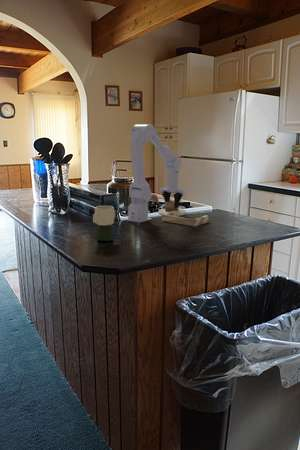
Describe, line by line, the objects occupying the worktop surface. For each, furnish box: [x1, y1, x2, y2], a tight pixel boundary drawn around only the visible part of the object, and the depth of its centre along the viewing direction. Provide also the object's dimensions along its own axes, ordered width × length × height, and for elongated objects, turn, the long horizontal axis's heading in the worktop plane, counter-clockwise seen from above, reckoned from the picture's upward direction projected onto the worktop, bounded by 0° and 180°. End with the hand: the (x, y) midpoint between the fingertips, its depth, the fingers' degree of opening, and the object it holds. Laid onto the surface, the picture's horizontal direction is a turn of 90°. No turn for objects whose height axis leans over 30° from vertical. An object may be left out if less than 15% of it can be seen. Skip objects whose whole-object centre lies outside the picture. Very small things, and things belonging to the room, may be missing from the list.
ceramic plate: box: [158, 208, 187, 217], centre depth 194 cm, size 14×14×1 cm
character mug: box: [92, 205, 116, 242], centre depth 143 cm, size 11×7×13 cm, turn 139°
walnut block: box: [164, 199, 180, 212], centre depth 193 cm, size 5×5×5 cm
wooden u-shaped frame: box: [161, 211, 209, 227], centre depth 176 cm, size 12×18×3 cm, turn 52°
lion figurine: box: [149, 193, 160, 205], centre depth 213 cm, size 15×5×9 cm, turn 121°
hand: (172, 206), depth 193 cm, fingers closed on walnut block, 5 cm apart
